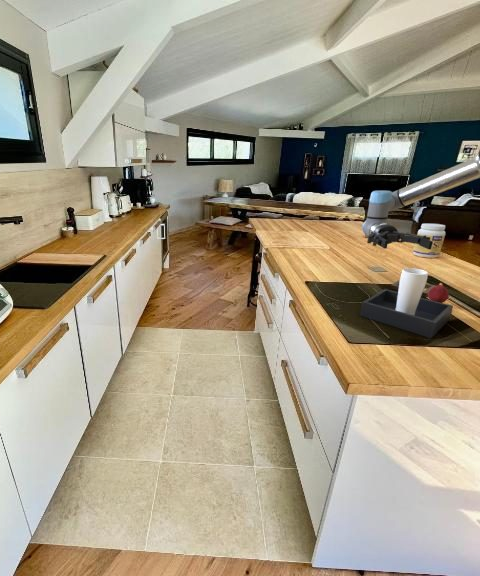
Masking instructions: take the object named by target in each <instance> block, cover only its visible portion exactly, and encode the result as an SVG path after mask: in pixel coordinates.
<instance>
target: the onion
mask: <svg viewBox="0 0 480 576" xmlns="http://www.w3.org/2000/svg"><path fill="white" fill-rule="evenodd" d="M427 297H428V300H432V301H436V302H440V303H445V302H446V301H448V299H449V297H450V292H449V290H448V289H447V287H445V286H444V284H443V283H442V282H440V283H439V284H438V285H436V286H435V287H433V288H431V289H430V290H429V292H428V296H427Z"/></svg>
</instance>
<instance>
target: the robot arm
mask: <svg viewBox="0 0 480 576" xmlns="http://www.w3.org/2000/svg"><path fill="white" fill-rule="evenodd" d="M477 179H480V152H477V154H476V155H475V157H472V158H470V159H468V160H466V161H463V162H461V163H458V164H456V165H454V166H452V167H449V168H447V169H444V170H442V171H440V172H437V173H435V174H433V175H430V176H428V177H426V178H423V179H421V180H419V181H415V182H414V183H411V184H409V185H406V186H404V187H401V188H399V189H397V190H395V191H391V190H373V191H372V192H371V193H370V197H369V202H368V203H369V204H368V209H367V214H366V215H367V216H366V220H365V221H364V222H363V223H362V226H361V230H362V232H363V234H364V236H365V235H366V236H368V238H367V241H366V243H367V244H372V246H373V247H376V246H379V247H381V248H382V249H384V250H385V249H387V248H388V245H390V244H392V243H401V244H402V243H409V244H414V245H415V244H419V245H420V246H422V247H424V248H426V249H431V248H432V244H433V241H430V237H426V235H425V236H420V235H417V234H414V233H410V232H401V231H400V232H399V231H398V229H397V227H395V226H394V225H391V224H389V223H387V221H388V216H389V212H394V211H397V210H399V209H402V208H404V207H406V206H409V205H412V204H413V203H417V202H420V201H422V200H425V199H427V198H430V197H432V196H435V195H437V194H440V193H443V192H446V191H449V190H451V189H453V188H457V187H459V186H461V185H464V184H466V183H469V182H472V181H475V180H477Z"/></svg>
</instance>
